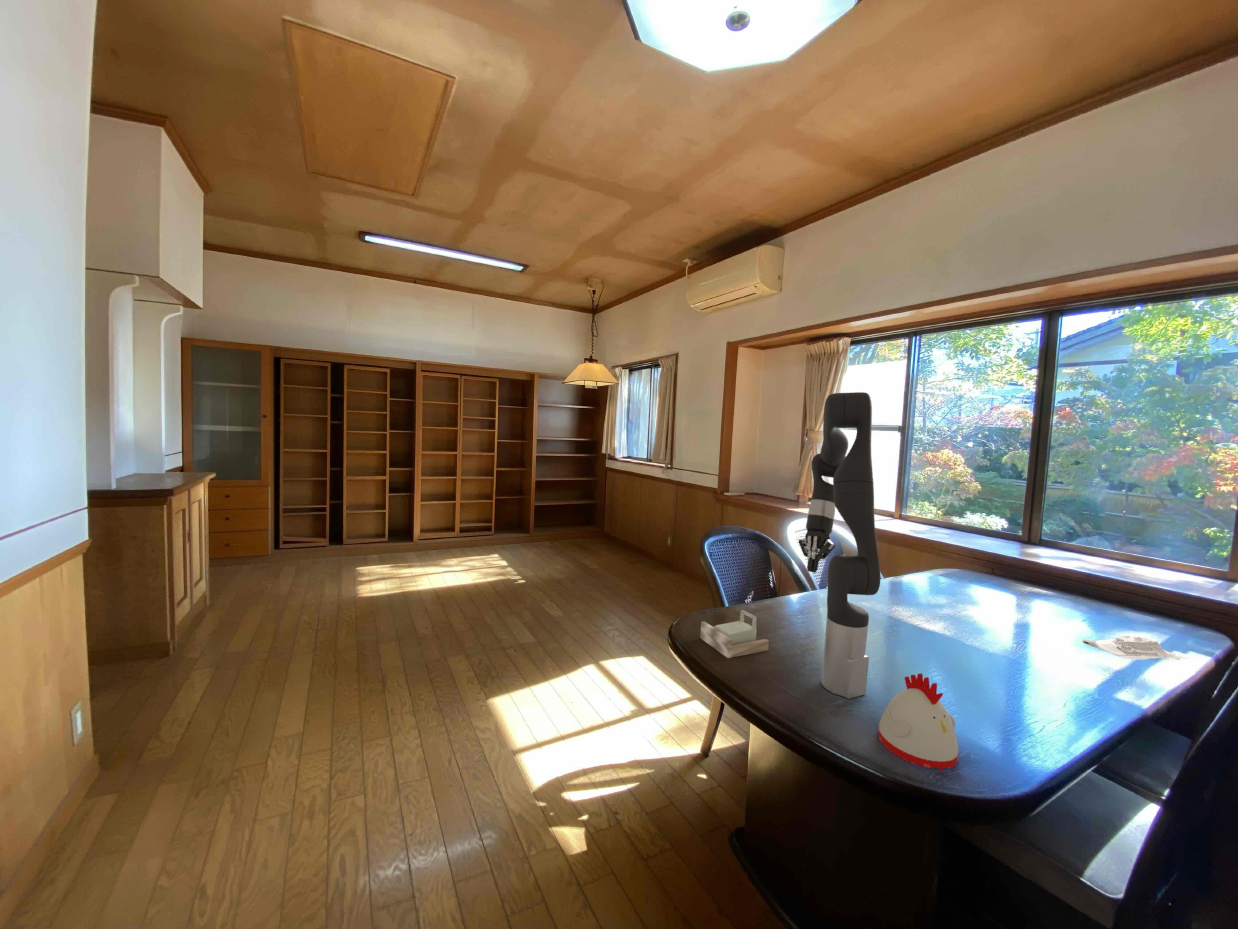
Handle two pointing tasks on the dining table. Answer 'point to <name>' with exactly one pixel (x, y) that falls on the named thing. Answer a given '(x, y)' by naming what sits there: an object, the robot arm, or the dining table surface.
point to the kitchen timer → (919, 726)
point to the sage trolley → (739, 629)
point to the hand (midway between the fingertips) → (811, 571)
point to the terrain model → (1133, 648)
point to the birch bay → (730, 642)
